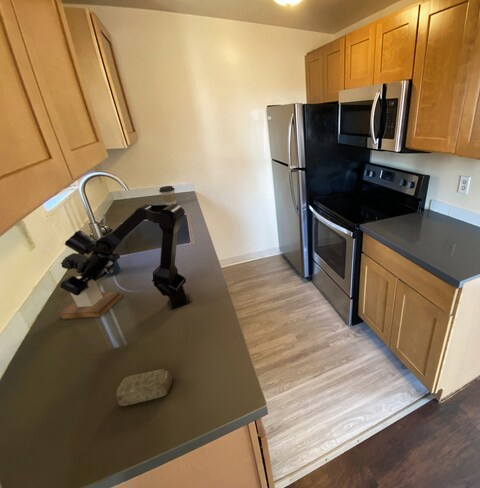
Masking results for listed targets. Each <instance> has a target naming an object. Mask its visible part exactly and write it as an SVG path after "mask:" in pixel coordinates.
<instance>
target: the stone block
mask: <svg viewBox="0 0 480 488" xmlns="http://www.w3.org/2000/svg"><path fill="white" fill-rule="evenodd" d="M171 373H172V372H171V371H170V369H168V368H164V367H163V368H159V369H154V370H150V371H146V372H142V373H134V374H131V375H127V376H125V377H124V378H123V379H122V380H121V382H120V384H119V386H118V387H117V390H116V392H115V396H116V399H117V403H118V406H120V407H126V406H130V405H135V404H139V403H143V402H149V401H152V400H156V399H160V398H162V397H165V396H166V395H168V393H169V390H170V387H171V386H172V382H173V375H172V374H171Z"/></svg>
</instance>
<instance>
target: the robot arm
mask: <svg viewBox="0 0 480 488" xmlns="http://www.w3.org/2000/svg"><path fill="white" fill-rule="evenodd" d="M185 215H186V212H185V210H184V208H183V206H180V204H177V203H176V204H171V205H166V204H149V203H148V204H146V203H145V204H142V205H141V206H139V207H137V208H136V209H135V210H134V212H133V213H132V214H130V215H129V216H128V217H127V218H126V219H125V220H124V221H123V222H122V223H121V224H120V225H119V226H118V227H116V228H115V229H114V230H112V231H111V232H108V233H107V234H104V235H102V236H99V237H98V238H96V239H95V238H94V237H91V236H90V235H88V234H86V233H85V232H84V231H82V230H77V231H75V232H74V234H73V235H71V236H70V237H69V238H68V239H67V240H65V242H64V246H65V247H68V248H69V249H71V250H73V251H75V252H73V253H70V254H69V255H67V256H66V257H64V259H62V262H60V264H61V268H63V269H66V270H68V271H69V270H73V269H74V270H76V272H75V273H77V274H79V276H81V278H80V279H78V278H76V277H77V276H75V275H70V276H68V277H67V278H65V279H64V280H62V281H61V282H60V284H59V288H61V289H63V290H64V291H67V292H68V293H70V294H71V293H72V294H74V295H80V294H81V293H82V292H83V291H85V290H86V289H87V288H89V287H88V282H89V281H90V280H91V279H92V280H95V282H96V281H97V280H100V279H102V278H103V277H105V274H107V272H109V271H110V270H112V269H113V268H114V266H115V265H114V263H113V262H115V261H116V260H117V261H118V260H119V259H120V258H121V256H120V254H119V252H118V251H116V250H118V249H120V248H121V247H123V246H124V244H125V243H126V242H127V240H128V238H129V236H130V234H131V233H133V232H134V231H135V230H136V229H137V228H138V227H139V226H141V225H142V223H144V222H145V221H148V222H150V223H153V224H158V226H159V228H160V230H161V232H162V233H161V245H160V246H161V247H160V261H159V265H158V266H157V267H156V268H155V269H154V270H153V271H152V279H151V282H153V286H154V287H156V289H157V290H158V291H159V292H160V294H161V295H162V296H164V297H168V303H169V306H170V309H171V310H174V309H177V308H180V307H182V306H184V305H187V304H190V303H191V301H190V299H189V297H188V295H187V293H186V291H185V288H184V285H185V284H186V283H187V278H186V277H185V276H184V275H181V274H180V273H179V271H178V268H177V266H176V254H177V244H178V235H179V229H180V228H181V225H182V224H183V221H184V218H185ZM89 254H90V255H89ZM87 255H89V257H88V256H87ZM111 261H112V262H111ZM105 268H106V269H107V272H106V271H104V269H105ZM87 278H88V279H87ZM84 280H85V281H84Z"/></svg>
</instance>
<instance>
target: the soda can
mask: <svg viewBox="0 0 480 488" xmlns="http://www.w3.org/2000/svg"><path fill="white" fill-rule="evenodd" d="M111 262H112V261H111ZM113 263H114V265H115V266H114V268H113V269H112V270H110V271H109V272H107V269H106V268H105V269H104V271H106V272H107V274H105V275H104V277H112V276H115V275H117V274H119V273H120V272H121V266H120V264H119V261H118V260H116V261H115V262H113Z"/></svg>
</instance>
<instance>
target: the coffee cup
mask: <svg viewBox="0 0 480 488" xmlns="http://www.w3.org/2000/svg"><path fill="white" fill-rule="evenodd" d="M175 189H176V188H175V187H173V185H166V186H161V187H160V188H159V189H158V191H159V193H160V194H161V197H162V199H163V201H164V205H171V204H177V200H176V192H175Z"/></svg>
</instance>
